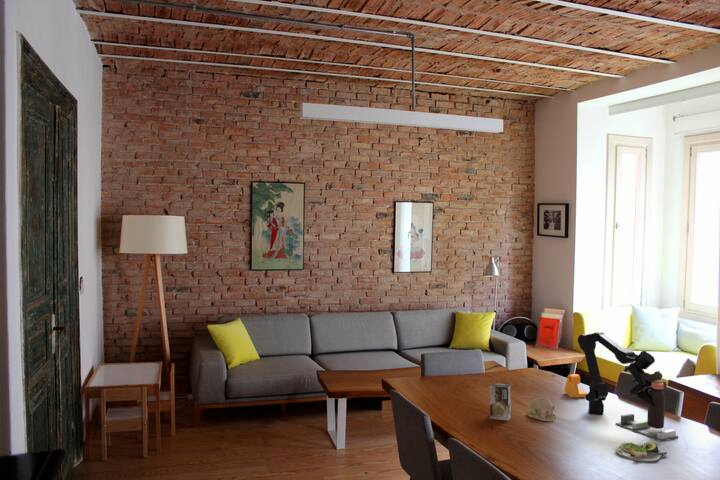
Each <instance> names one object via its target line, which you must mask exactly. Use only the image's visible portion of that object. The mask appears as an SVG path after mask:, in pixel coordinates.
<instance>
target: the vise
mask: <svg viewBox="0 0 720 480" xmlns="http://www.w3.org/2000/svg"><path fill="white" fill-rule="evenodd" d="M634 422H638V420H637V421H636V420H634ZM615 425H616V426H618V427H621V428H623V429H626V430H629V431H631V432H634V433H638V434H641V435H643V436H645V437H648V438H651V439H653V440H656V441H659V442H664V441H669V440H675V439H679V435H677V431H676V430H675V429H672V428H671V429H666V430H662V429H656V428H652V427H645V428H640V429H634V428H632V425H631V424H628V423H625V424H623V423H621V421H618V422H615Z"/></svg>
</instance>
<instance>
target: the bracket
mask: <svg viewBox="0 0 720 480" xmlns="http://www.w3.org/2000/svg"><path fill="white" fill-rule="evenodd" d="M580 383H581V376H580V374H577V373H573V374H568V375H567V378H566V382H565V385H564V393H565V394H566V395H567V396H568V397H571V398H585V396H586V395H587V394H588V393H587V392H585V391H583V390H581V389H579V388H578V387H579V386H578V385H579V384H580Z"/></svg>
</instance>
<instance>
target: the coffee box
mask: <svg viewBox="0 0 720 480" xmlns="http://www.w3.org/2000/svg"><path fill="white" fill-rule="evenodd" d="M511 385H512V384H507V383H499V382H498V383H497V382H492V383H491V384H490V386H489V419H490V420H491V419H492V420H499V421H510V419H511V416H512V415H511V405H512V404H511V403H512V402H511V396H512V395H511V394H512V393H511V389H512V387H511Z"/></svg>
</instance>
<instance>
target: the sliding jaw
mask: <svg viewBox="0 0 720 480" xmlns="http://www.w3.org/2000/svg"><path fill="white" fill-rule="evenodd" d="M634 421H635V414H634V413H627V414H621V415H620V422H621V423H623V424H625V423H628V424H631V425H632V428H634V429H640V428H645V427H650V426H648V425H647V419H645V420H641V421H637V422H634Z"/></svg>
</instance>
